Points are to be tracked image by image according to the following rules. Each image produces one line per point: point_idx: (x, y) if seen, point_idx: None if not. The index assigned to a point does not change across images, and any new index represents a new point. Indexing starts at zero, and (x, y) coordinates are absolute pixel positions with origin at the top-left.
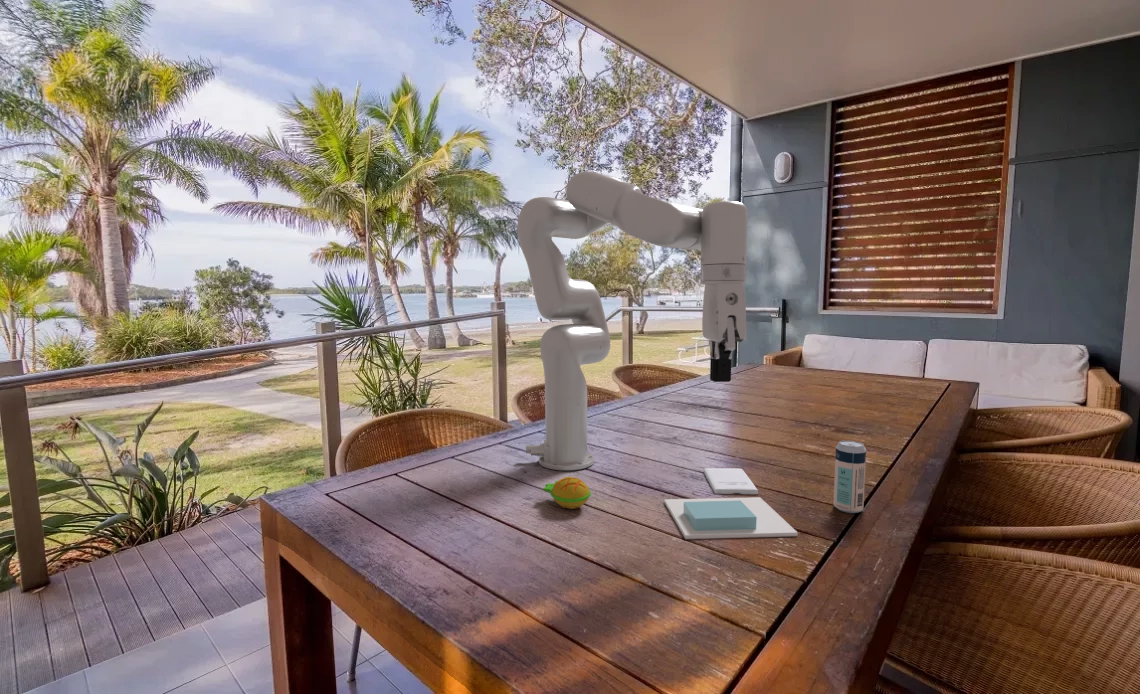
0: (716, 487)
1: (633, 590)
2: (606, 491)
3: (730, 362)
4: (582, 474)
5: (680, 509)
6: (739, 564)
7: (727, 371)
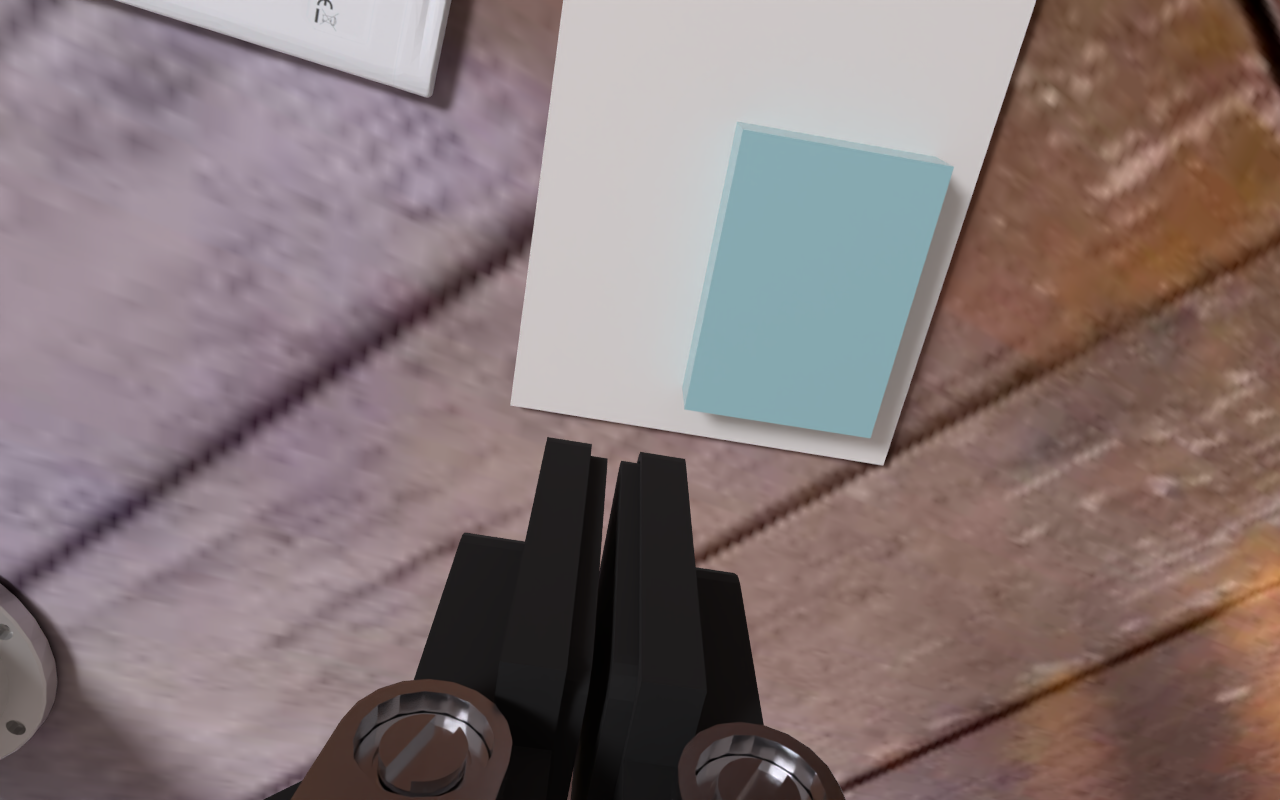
0: (403, 78)
1: (1109, 703)
2: (339, 580)
3: (698, 651)
4: (101, 619)
5: (639, 382)
6: (1126, 365)
7: (744, 621)
